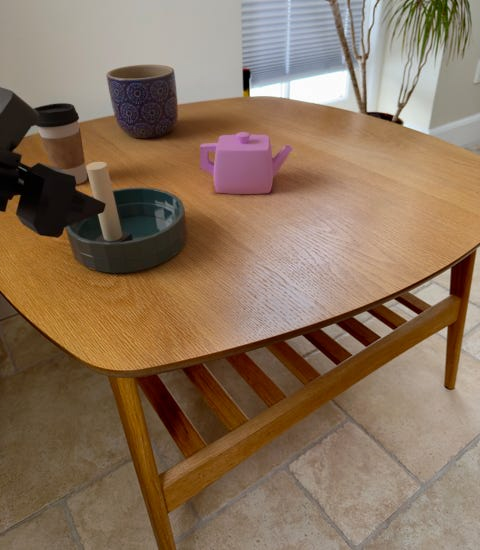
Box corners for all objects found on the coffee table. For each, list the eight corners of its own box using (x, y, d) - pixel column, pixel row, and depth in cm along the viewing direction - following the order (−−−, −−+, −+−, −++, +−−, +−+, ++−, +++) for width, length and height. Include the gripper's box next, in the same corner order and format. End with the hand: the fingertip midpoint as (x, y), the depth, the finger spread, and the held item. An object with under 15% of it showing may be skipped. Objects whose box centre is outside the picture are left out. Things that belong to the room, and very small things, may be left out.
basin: (139, 289, 61) (132, 257, 58) (49, 256, 68) (38, 226, 65) (208, 229, 74) (205, 200, 70) (125, 207, 81) (120, 179, 78)
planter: (104, 136, 113) (91, 74, 104) (146, 119, 124) (138, 62, 115) (152, 147, 106) (143, 82, 97) (193, 127, 117) (187, 67, 108)
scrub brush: (117, 259, 66) (97, 173, 58) (97, 253, 68) (75, 168, 59) (134, 246, 69) (117, 162, 60) (115, 240, 70) (96, 158, 62)
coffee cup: (43, 185, 90) (19, 110, 81) (70, 169, 96) (51, 98, 87) (75, 191, 87) (55, 114, 78) (101, 174, 93) (85, 102, 84)
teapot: (289, 173, 91) (292, 124, 85) (291, 195, 83) (294, 143, 77) (205, 173, 92) (201, 124, 86) (198, 195, 84) (193, 143, 78)
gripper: (0, 89, 33) (151, 147, 46) (-87, 61, 43) (57, 115, 56) (-33, 228, 35) (121, 247, 48) (-108, 170, 45) (36, 198, 58)
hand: (81, 196), depth 52 cm, fingers open, 9 cm apart
